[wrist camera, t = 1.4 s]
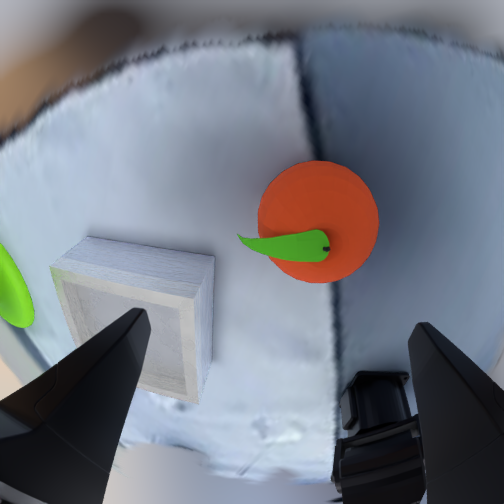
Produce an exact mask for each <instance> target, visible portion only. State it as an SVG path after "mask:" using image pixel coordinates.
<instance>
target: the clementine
mask: <svg viewBox="0 0 504 504" xmlns="http://www.w3.org/2000/svg"><path fill="white" fill-rule="evenodd" d="M378 228H379V216H378V208H377V206H376V203H375V201H374V198H373V196H372V194H371V192H370V190H369V188H368V187H367V185H366V184H365V183H364V182H363V180H362V179H361V178H360V177H359V176H358V175H356V174H355V173H354V172H352V171H351V170H349V169H348V168H346V167H344V166H341V165H338V164H335V163H333V162H328V161H308V162H303V163H298V164H296V165H294V166H292V167H290V168H288V169H286V170H284V171H283V172H282V173H281V174H280V175H278V176H277V177H276V178H275V179H274V180H273V181H272V182H271V183H270V184H269V186H268V188H267V189H266V191H265V193H264V194H263V196H262V198H261V202H260V206H259V209H258V233H259V236H260V238H253V239H250V238H243V237H241V236H240V235H238V234H237V235H238V237H239V238H240V240H241V241H242V243H243V244H245V245H246V246H247V247H249V248H250V249H252V250H254V251H257V252H259V253H262V254H264V255H268V256H269V258H270V259H271V260H272V261H273V262H274V263H275V264H276V265H277V266H278V267H279V268H280V269H281V270H282V271H283V272H284V273H286V274H288V275H290V276H292V277H293V278H295V279H298V280H301V281H305V282H309V283H327V282H333V281H337V280H340V279H342V278H344V277H346V276H349V275H350V274H352V273H353V272H354V271H356V270H357V269H358V268H360V267H361V266H362V264H363V263H364V262H365V261H366V260H367V258H368V257H369V256H370V254H371V251H372V249H373V247H374V245H375V242H376V239H377V234H378Z"/></svg>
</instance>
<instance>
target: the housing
mask: <svg viewBox="0 0 504 504" xmlns="http://www.w3.org/2000/svg"><path fill="white" fill-rule="evenodd" d="M214 265H215V256H208V255H202V254H195V253H189V252H182V251H176V250H169V249H163V248H157V247H150V246H144V245H138V244H132V243H125V242H119V241H113V240H107V239H101V238H95V237H89V236H87V237H86V238H85V239H83V240H82V241H81V242H79V243H78V244H77V245H75V246H74V247H73V248H71V249H70V250H69V251H67V252H66V253H65V254H64V255H62V256H61V257H60V258H59V259H57V260H56V261H55V262H54V263H52V264H51V265H50V270H51V274H52V278H53V281H54V285H55V288H56V291H57V295H58V298H59V301H60V304H61V307H62V310H63V313H64V316H65V319H66V322H67V324H68V327H69V330H70V332H71V335H72V338H73V340H74V343H75V345H76V347H77V348H78V347H79V346H81V345H82V344H83V343H85V342H86V341H87V340H89V339H90V338H92V337H93V336H94V335H96V334H97V333H98V332H100V331H101V330H103V329H104V328H105V327H107V326H108V325H109V324H111V323H112V322H114V321H115V320H116V319H118V318H119V317H120V316H122V315H123V314H125V313H126V312H127V311H129V310H130V309H132V308H133V307H138V308H144V309H145V310H146V311H147V314H148V318H149V321H150V325H151V334H150V338H149V342H148V346H147V350H146V355H145V359H144V363H143V368H142V371H141V375H140V378H139V381H138V383H137V386H136V387H137V388H140V389H143V390H146V391H150V392H153V393H157V394H160V395H164V396H167V397H171V398H175V399H179V400H183V401H187V402H191V403H196V404H199V402H200V399H201V395H202V392H203V389H204V385H205V382H206V379H207V375H208V372H209V369H210V366H211V362H212V326H213V291H214Z"/></svg>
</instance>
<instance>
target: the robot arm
mask: <svg viewBox="0 0 504 504" xmlns="http://www.w3.org/2000/svg"><path fill="white" fill-rule="evenodd" d="M150 334H151V325H150V321H149V318H148V314H147V311H146V310H145V309H144V308H138V307H133V308H132V309H130V310H129V311H127V312H126V313H125V314H123V315H122V316H120V317H119V318H118V319H116V320H115V321H114V322H112V323H111V324H109V325H108V326H107V327H105V328H104V329H103V330H101V331H100V332H98V333H97V334H96V335H94V336H93V337H92V338H90V339H89V340H87V341H86V342H85V343H83V344H82V345H81V346H79V347H78V348H77V349H75V350H74V351H73V352H71V353H70V354H69V355H67V356H66V357H65V358H63V359H62V360H61V361H59V362H58V364H55V365H54V366H53V367H51V368H50V369H49V370H47V371H46V372H44V373H43V374H42V375H40V376H39V377H37V378H36V379H34V380H33V381H31V382H30V383H28V384H27V385H25V386H24V387H22V388H20V389H19V390H17V391H16V392H14V393H12V394H11V395H9V396H7V397H6V398H4V399H2V400H1V401H0V504H102V503H103V499H104V494H105V491H106V486H107V482H108V479H109V475H110V474H109V473H110V471H111V467H112V463H113V460H114V456H115V453H116V449H117V446H118V443H119V439H120V436H121V433H122V429H123V426H124V423H125V420H126V417H127V413H128V410H129V407H130V404H131V401H132V398H133V395H134V392H135V389H136V386H137V383H138V381H139V378H140V375H141V371H142V368H143V363H144V359H145V355H146V350H147V346H148V342H149V338H150ZM408 349H409V356H410V364H411V373H412V381H413V387H414V392H415V397H416V403H417V408H418V414H415V415H414V416H411V412H410V408H409V404H408V400H407V397H406V393H405V390H404V385H405V383H406V382H407V381H408V379H409V377H410V376H409V373H378V372H359V373H357V374H356V376H355V378H354V379H353V381H352V383H351V385H350V386H349V387H348V388H347V390H346V391H345V393H344V395H343V396H342V398H341V400H340V403H339V407H340V408H341V413H342V425H343V429H344V430H347V432H348V437H347V438H344V439H342V438H340V439H337V443H336V446H335V454H334V464H333V471H332V475H331V481H332V482H333V483H335V486H336V489H337V491H338V492H339V493H342V499H343V504H420V501H421V500H422V497H423V495H424V493H425V491H426V488H427V504H504V391H503V390H502V389H501V388H500V387H499V386H498V385H497V384H496V383H495V382H494V381H493V380H492V379H491V378H490V377H489V376H488V375H487V374H486V373H485V372H484V371H483V370H481V369H480V368H479V367H478V366H477V365H476V364H475V363H474V362H473V361H472V360H471V359H470V358H469V357H467V356H466V355H465V354H464V353H463V352H462V351H461V350H460V349H459V348H457V347H456V346H455V345H454V344H453V343H452V342H451V341H450V340H448V339H447V338H446V337H445V336H444V335H443V334H442V333H440V332H439V331H438V330H437V329H436V328H435V327H433V326H432V325H431V324H430V323H428V322H419V323H417V324H416V326H415V328H414V330H413V332H412V334H411V336H410V338H409V340H408ZM416 436H418V437H416ZM413 437H414V438H413ZM425 470H426V475H425Z"/></svg>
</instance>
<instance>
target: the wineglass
mask: <svg viewBox="0 0 504 504" xmlns="http://www.w3.org/2000/svg"><path fill="white" fill-rule="evenodd" d="M0 316H1V317H2V318H4V319H5V320H6V321H7V322H9V323H10V324H12V325H14V326H16V327H21V328H26V327H28V326H30V325H32V323H33V321H34V308H33V303H32V299H31V297H30V294H29V291H28V288H27V286H26V284H25V282H24V280H23V278H22V275H21V273H20V271H19V270H18V268H17V266H16V265H15V263H14V261H13V259H12V258H11V256H10V255H9V254H8V252H7V251H6V250H5V248H4V247H3V245H2V244H1V243H0Z"/></svg>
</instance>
